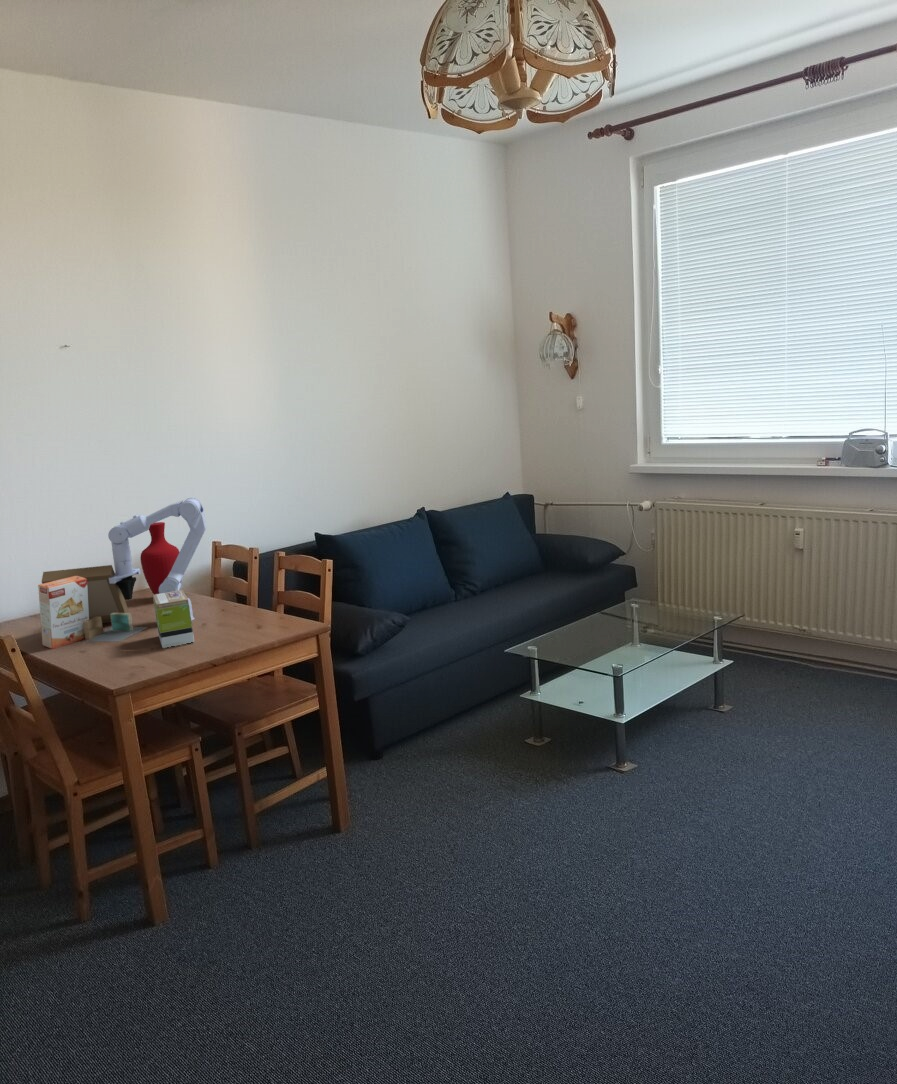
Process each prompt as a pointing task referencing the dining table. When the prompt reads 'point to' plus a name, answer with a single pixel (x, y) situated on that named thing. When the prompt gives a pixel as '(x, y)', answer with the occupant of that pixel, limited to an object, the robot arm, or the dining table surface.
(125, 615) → the tile teal
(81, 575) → the photo frame
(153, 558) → the vase
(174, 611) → the tea box
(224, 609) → the dining table surface
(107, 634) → the felt mat
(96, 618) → the tile plain
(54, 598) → the cracker box
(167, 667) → the dining table surface
